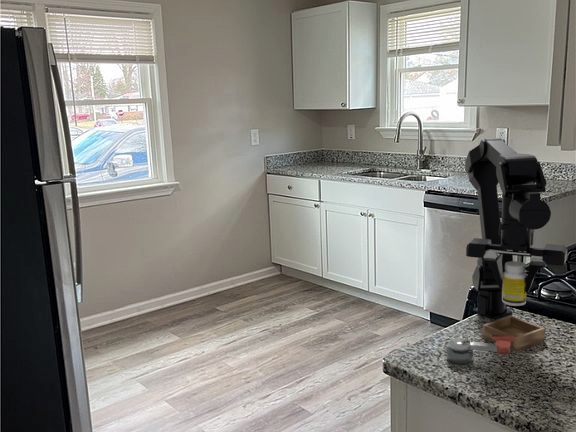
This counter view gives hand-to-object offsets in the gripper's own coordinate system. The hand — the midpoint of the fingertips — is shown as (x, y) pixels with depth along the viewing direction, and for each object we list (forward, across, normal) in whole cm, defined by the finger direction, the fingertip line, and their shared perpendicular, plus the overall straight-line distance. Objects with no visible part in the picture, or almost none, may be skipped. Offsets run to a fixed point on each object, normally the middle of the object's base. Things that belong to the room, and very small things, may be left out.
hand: (514, 290), depth 117 cm
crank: (+9, +4, +13) cm, 16 cm away
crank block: (+11, +8, +14) cm, 19 cm away
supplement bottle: (+3, 0, 0) cm, 3 cm away
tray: (+11, 0, 0) cm, 11 cm away
